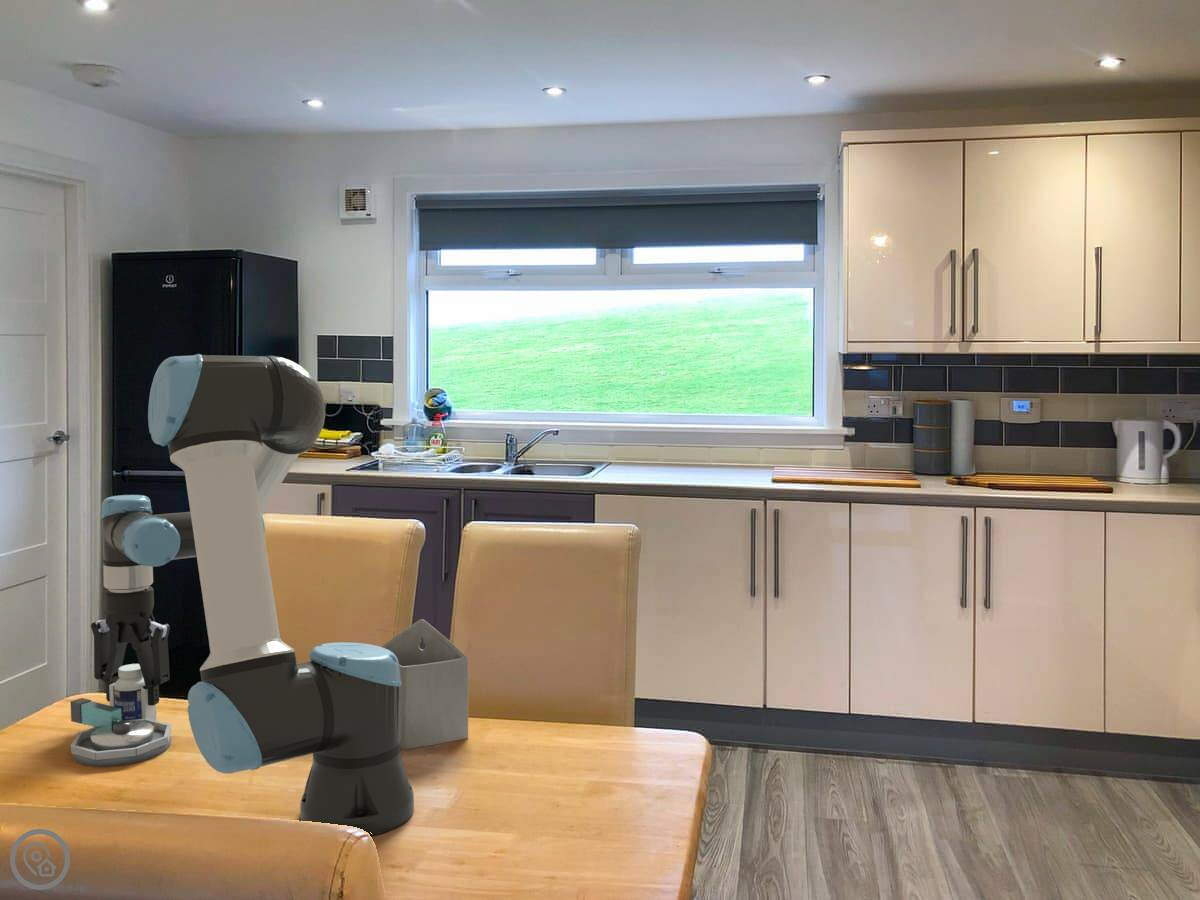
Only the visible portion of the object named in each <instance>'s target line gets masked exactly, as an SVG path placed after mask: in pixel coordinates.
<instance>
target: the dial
mask: <svg viewBox="0 0 1200 900" xmlns="http://www.w3.org/2000/svg"><path fill="white" fill-rule="evenodd" d="M70 721H71V722H73V723H77V724H81V725H85V726H89V727H92V728H93V727H96V728H98V729H96V730H95V731H93V732H92V733H91V746H92V747H93V748H95V749H98V750H105V751H106V750H117V749H127V748H134V747H137V746H140V745H143V744H145V743H147V742H149V741H150V740H152V738H153V736H154V732H153V725H152V724H150V723H147V722H141V721H128V720H123V721H122V718H121V708H117V707H113V706H110V704H105V703H100V702H96V701H92V700H91V699H88V698H84V697H80V698H77V699H74V700H70Z"/></svg>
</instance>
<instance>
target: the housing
mask: <svg viewBox="0 0 1200 900" xmlns="http://www.w3.org/2000/svg"><path fill="white" fill-rule="evenodd" d="M128 721H141V722H147V723H150V724H152V725H153V732H154V736H153V738H152V740H150V741H149V742H147V743H145V744H143V745H140V746H137V747H134V748H127V749H117V750H106V751H105V750H98V749H95V748H93V747H92V746H91V733H92V732H93V731H95V730H96V729H98V728H96V727H93V726H92V727H91V728H88V729H85V730H82V731H79V732H78V733H77V734H76V735H75V737H74V739H73V741H72V742H71V744H70V753H71V754H72V755H73V760H74V761H75V762H76V763H78V764H81V765H84V766H87V767H88V766H89V767H98V768H99V767H117V766H118V767H119V766H126V765H131V764H134V763H135V764H136V763H140V762H144V761H146V760H149V759H152V758H155V757H157V756H159V755H161V754H162V753H163V754H164V752H166V751H167V750H168V749H169V748H170V747H171V745H172V744H171V742H172V741H171V740H172V739H171V738H172V737H171V734H172V724H170V723H167V722H163V721H160V720H157V719H156V720H152V719H135V720H128Z"/></svg>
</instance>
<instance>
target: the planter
mask: <svg viewBox="0 0 1200 900" xmlns="http://www.w3.org/2000/svg"><path fill="white" fill-rule="evenodd" d="M422 640H423V644H424V646H425V647H424V649H422V648H421V646H420V644H421V643H422ZM380 647H383V648H385V649H388V650H390V651H391V652H393V653H394V654H395V655H396V657H397V659H398V662H399V670H400V680H401V686H400V750H402V751H403V750H411V749H418V748H424V747H429V746H430V747H431V746H434V745H439V744H440V745H441V744H446V742H447V743H450V742H451V741H452V742H457V741H461V739H462V740H466V739H465V738H467V739H468V738H469V660H468V656H467V655H466V654H465V653H464V652H463V651H462V650H461V649H460V648H459V647H457V646H456V645H455V644H454V643H453V642H451V640H449V639H448V638H447V637H446V636H445V635H443V634H442V633H441V632H440V631H438V630H437V629H436V628H435V627H434V626H432V625H431V624H430V623H429V622H428V621H427V620H425V619H423V618H422V619H419V620H417V621H416V622H414V623H413V624H411V625H409V626H408V627H406V628H405V629H404V630H402V631H401V632H399V633H398V634H396V635H395V636H393V637H392V638H390V640H388V641H387V642H385V643H383V645H381V646H380ZM456 740H457V741H456Z"/></svg>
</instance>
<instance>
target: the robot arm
mask: <svg viewBox="0 0 1200 900" xmlns="http://www.w3.org/2000/svg"><path fill="white" fill-rule="evenodd" d="M156 369H157V370H156V372H155V374H154V376H153V380H152V382H151V387H150V392H149V398H148V409H147V412H148V413H147V421H148V430H149V434H150V435H151V440H152V441H153V443H154V444H156V445H160V446H161V447H166V446H167V447H168V454H169V458H170V459H169V460H170V462H171V463H172V464H173V465H175V466H177V467H178V468H180V469H181V470H182V471H183V472H184V477H185V482H186V483H185V484H186V491H187V497H188V498H187V499H188V505H189V511H186V512H184V511H183V512H173V513H171V512H170V513H162V514H161V513H160V514H153V510H152V505H151V504H152V503H151V499H150V498H149V497H148V496H146V495H141V494H122V495H112V496H109V497H106V498H104V500H103V501H102V502H101V515H100V516H101V517H100V521H101V531H102V532H101V533H102V534H101V535H102V555H103V556H102V558H103V567H102V568H103V587H104V588H105V589H106V590H105V591H104V611H105V612H106V613H107V614H106V617H105V618H102V619H100V620H97V621H94V622H92V623H91V624H90V628H91V632H92V634H93V663H94V664H93V671H94V672H93V673H94V674H93V676H94V678H95V680H101V681H103V683H104V684H105V693H106V696H105V697H106V698H105V699H106V701H107V702H108V703H109V706H113V707H115V692H114V685H115V682H116V681H117V680H119V679H120V678H119V676H118V669H119V667H121V666H123V663H124V658H125V654H126V649H127V645H128V644H131V647H132V649H133V650H134V651H135V654H136V657H137V661H138V664H139V665H140V668H141V672H142V675H143V679H144V682H145V686H143V687H142V688H141V705H142V719H152V720H156V721H157V704H159V702H160V685H162V684H164V683H165V682H169V680H170V679H171V675H170V674H171V673H170V672H171V671H170V659H169V658H170V657H169V644H168V643H169V642H168V637H169V633H170V629H171V627H170V625H169V623H165V624H161V623H158V622H156V620H155V617H154V615H153V609H154V606H155V594H154V593H155V592H154V588H153V587H152V586H151V585H152V584H153V583H154V571H153V570H154V567H161V566H164V565H166V564H168V563H169V562H171V561H173V560H180V559H190V558H196V560H197V568H198V573H199V574H198V575H199V582H200V587H201V594H202V595H201V596H202V601H203V609H204V610H203V611H204V616H205V624H206V630H207V637H208V645H209V652H210V653H209V655H208V657H206V660H205V661H204V662H203V664H202V665H201V666H200V668H199V673H200V680H201V681H198V682H197V683H196V684H194V685H192V686H191V688H190V689H189V691H188V694H187V701H188V702H187V703H188V705H187V714H188V720H189V725H190V729H191V731H192V735H193V738H194V741H195V744H196V746H197V748H198V750H199V752H200V754H201V755H202V757H203V758H204V760H205V761H206V763H207V764H208V765H209V766H210V767H211V768H212V769H213V770H215V771H216V772H217V773H221V774H226V775H227V774H228V775H229V774H233V773H239V772H240V773H241V772H244V771H248V770H250V771H253V770H254V771H255V770H258V769H261V767H265V766H269V765H273V764H277V763H281V762H284V761H287V760H288V761H289V760H292V759H295V758H300V757H304V756H308V755H312V764H311V767H310V771H309V773H308V776H307V780H306V783H305V787H304V792H303V794H302V796H301V800H300V804H299V807H300V808H299V812H300V814H299V817H300V818H299V821H301V820H302V821H312V822H321V823H330V824H338V825H347V826H353V827H357V828H360V829H363V830H364V831H366V832H368V833H369V834H370V836H374V835H378V834H383V833H385V831H386V832H388V831H391V830H393V829H395V827H396V828H397V827H400V826H401V825H402V824H404V823H406V822H407V821H408V820H410V818H411V816H412V815H413V813H414V809H415V800H414V799H415V795H414V793H415V792H414V790H413V787H412V785H411V783H410V781H409V779H408V774H407V772H406V767H405V766H404V762H403V759H402V754H401V748H400V686H401V680H400V670H399V662H398V659H397V657H396V655H395V654H394V653H393V652H391V651H390V650H388V649H385V648H383V647H381V646H378V645H375V644H370V643H361V642H349V641H347V642H344V641H343V642H342V641H341V642H338V641H337V642H328V643H322V644H318V645H317V646H314V647H312V649H311V651H310V654H309V660H310V661H308V662H303V663H297V658H296V651H295V649H294V648H293V647H291V646H290V645H288V644H286V643H285V642H284V641H283V640H282V639H281V635H280V634H281V633H280V628H279V622H278V616H277V614H278V613H277V608H276V601H275V595H274V587H273V582H272V577H271V570H270V564H269V556H268V550H267V544H266V537H265V532H266V531H265V529H266V527H265V526H266V525H265V521H264V517H263V514H264V512H265V510H266V508H267V507H268V506H269V504H270V503H271V501H272V499H273V497H274V496H275V494H276V493H277V491H278V489H279V487H280V486H281V484H282V483H283V481H284V480H285V478H286V477H287V475H288V473H289V472H290V470H291V468H292V466H293V465H294V463H295V462H296V460H297V459H298V457H299V455H302V454H304V453H306V452H309V450H310V449H311V448H312V447H313V446H315V443H316V441H317V440H318V439H319V437H320V434H321V432H322V431H323V428H324V425H325V418H326V404H325V403H326V402H325V399H324V394H323V393H322V390H321V388H320V386H319V384H318V382H317V380H315V377H313V376H312V375H311V374H310V372H308V370H307V369H305V368H304V367H303V366H302V365H300V364H298V363H296V362H295V361H293V360H291V359H288V358H285V357H281V356H276V355H260V356H259V355H217V354H215V355H212V354H211V355H208V354H200V353H196V354H194V355H179V356H177V355H175V356H169V357H168V358H165V359H163V361H162V362H161V363H160V364H159V365H158V367H157V368H156ZM110 632H111V634H110ZM150 632H151V633H150ZM390 829H391V830H390ZM387 830H388V831H387ZM370 832H371V833H372V834H373V835H372V834H371V833H370Z"/></svg>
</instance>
